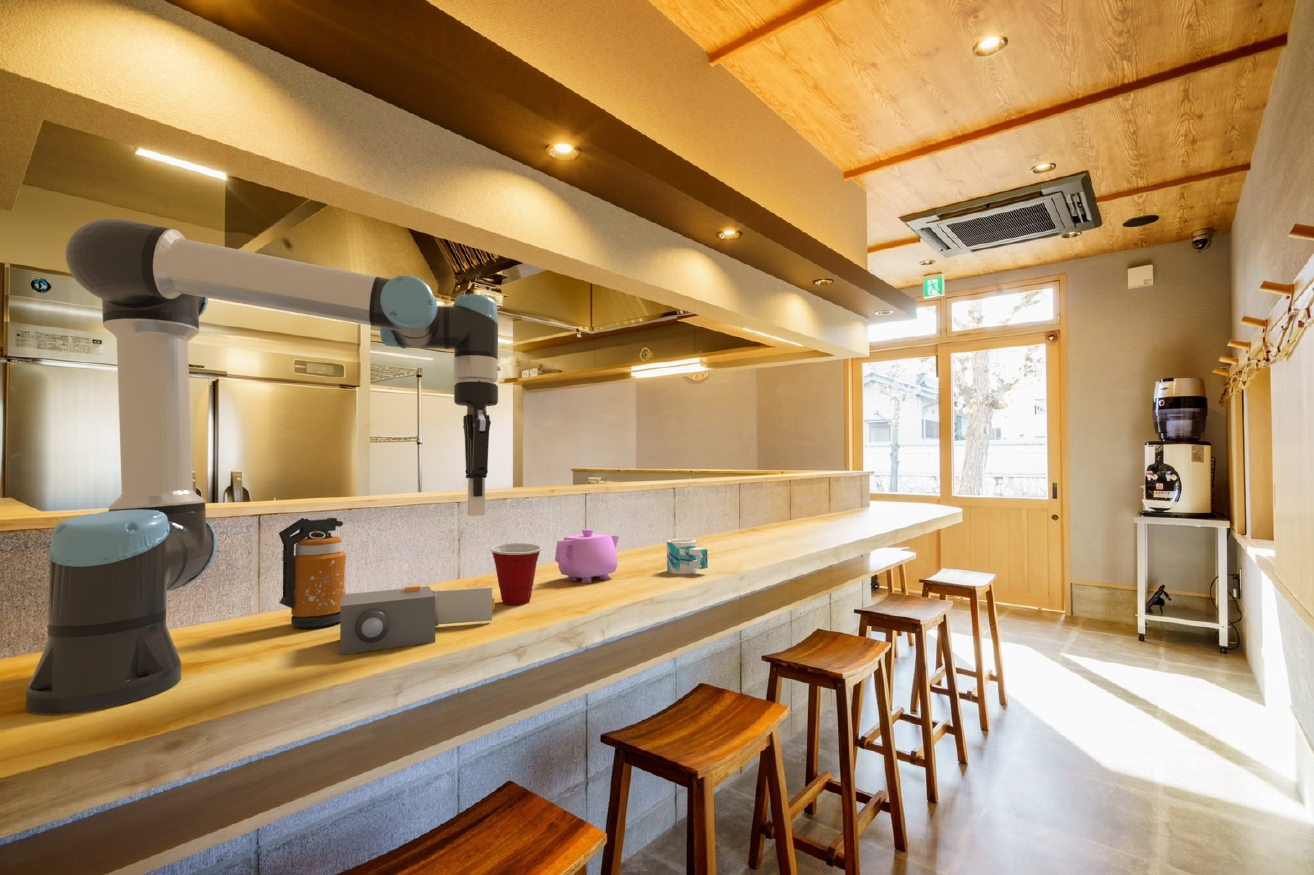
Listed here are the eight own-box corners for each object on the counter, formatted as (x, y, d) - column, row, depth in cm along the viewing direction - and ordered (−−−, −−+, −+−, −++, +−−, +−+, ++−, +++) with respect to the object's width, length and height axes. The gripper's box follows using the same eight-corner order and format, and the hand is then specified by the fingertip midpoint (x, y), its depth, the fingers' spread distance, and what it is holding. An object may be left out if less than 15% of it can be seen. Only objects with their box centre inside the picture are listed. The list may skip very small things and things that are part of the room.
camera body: (339, 658, 93) (340, 603, 94) (341, 639, 104) (341, 589, 104) (437, 644, 99) (437, 593, 100) (429, 628, 110) (429, 581, 110)
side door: (494, 621, 113) (494, 587, 113) (431, 626, 110) (431, 591, 110) (494, 619, 114) (494, 586, 114) (432, 624, 111) (432, 590, 112)
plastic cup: (504, 610, 122) (504, 550, 123) (482, 602, 131) (481, 546, 131) (552, 602, 129) (551, 545, 130) (527, 595, 138) (527, 541, 138)
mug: (682, 568, 171) (682, 537, 171) (714, 572, 162) (714, 541, 162) (661, 571, 165) (660, 540, 165) (693, 577, 156) (692, 544, 157)
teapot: (573, 587, 145) (572, 534, 146) (542, 581, 154) (542, 531, 154) (634, 576, 159) (633, 527, 160) (602, 571, 168) (602, 524, 169)
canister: (353, 622, 115) (353, 516, 116) (287, 635, 107) (288, 520, 108) (335, 615, 121) (336, 514, 122) (271, 626, 113) (273, 518, 114)
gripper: (505, 379, 105) (505, 516, 104) (490, 388, 117) (490, 512, 116) (460, 376, 102) (459, 518, 101) (449, 386, 113) (449, 514, 112)
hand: (476, 515), depth 108 cm, fingers closed
